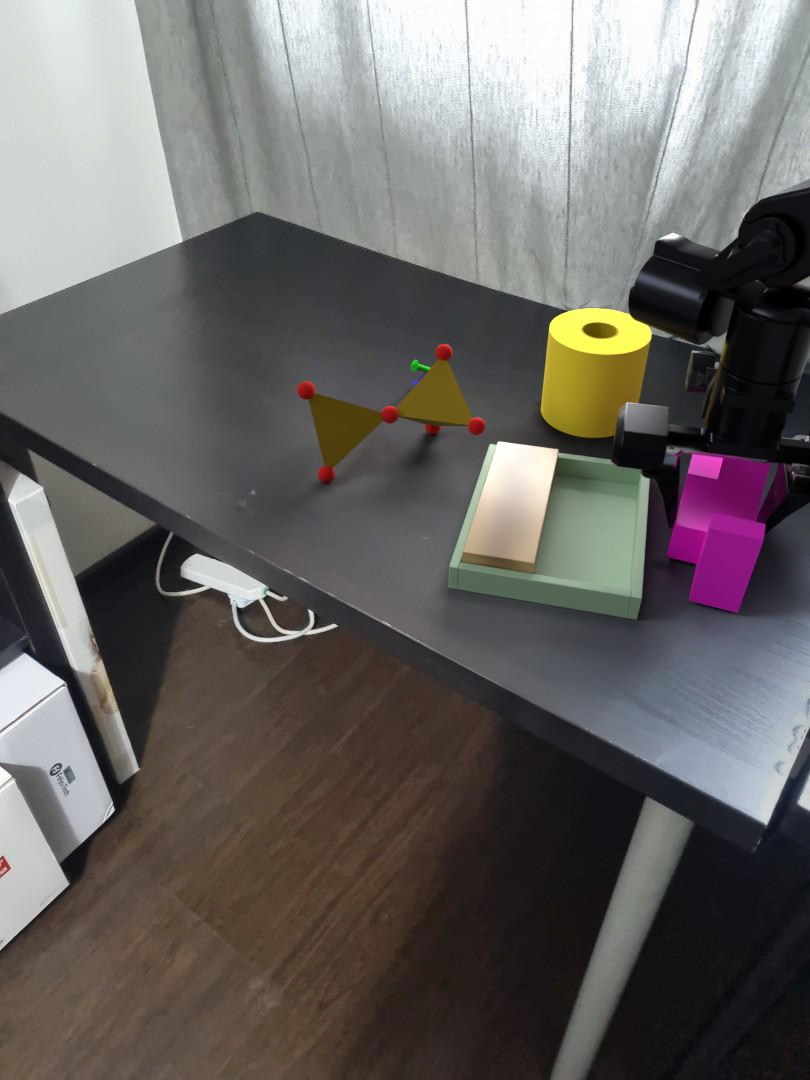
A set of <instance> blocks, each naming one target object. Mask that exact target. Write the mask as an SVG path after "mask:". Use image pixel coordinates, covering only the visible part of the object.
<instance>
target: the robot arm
mask: <svg viewBox="0 0 810 1080" xmlns="http://www.w3.org/2000/svg"><path fill="white" fill-rule="evenodd" d="M737 232H738V233H737V237H735V239H733V241H731V243H729V244H728V245H727V246H725V247H724V249H722V250H720V249H719V250H718V249H715V248H712V247H709V246H706V245H703V244H700V243H697V242H694V241H693V240H691V239H689V238H687V237H686V236H683V235H680V234H676V233H674V232H673V233H672V232H671V233H670V234H667V235H666V236H665V235H664V236H663V237H660V238H659V239H656V240H655V241H654V247H653V252H652V255H651V256H650V257H649V258H648V259H647V260H646V262H645V263H644V265H643V266H642V267H641V269H640V270H639V273H638V274H637V277H636V279H635V282H634V284H633V285H632V286H631V287H630V288H629V293H628V300H627V301H628V302H627V307H628V314H629V315H631V317H632V318H633V319H634V320H635V321H638V322H640V323H643V324H646V325H647V326H648V327H651V328H653V329H656V330H658V331H661V332H664V333H666V334H668V335H671V336H673V337H676V338H679V339H681V340H683V341H686V342H688V343H690V344H693V345H697V346H701V345H705V344H707V343H708V342H709V341H710V340H712V338H714V337H715V338H719V337H722V336H723V335H725V338H724V342H723V346H722V350H721V354H720V358H719V361H716V360H717V356H716V354H715V353H714V352H711V351H701V350H691V353H690V356H689V361H688V364H687V368H686V369H687V370H686V375H685V381H684V389H685V391H686V392H690V393H698V394H704V397H703V401H702V405H701V409H700V418H701V419H704V421H703V424H702V427H695V426H685V425H677V424H670V406H663V405H653V404H646V403H629V402H627V403H626V404H624V405H623V406H622V407H621V408H619V411H618V416H617V422H616V428H615V435H614V437H613V445H612V452H611V459H610V460H611V462H612V463H614V464H615V465H616V466H618V467H625V468H633V469H640V470H641V474H642V476H643V477H645V478H649V479H650V480H653V481H654V483H655V486H656V488H657V490H658V493H659V494H660V497H661V500H662V504H663V508H664V512H665V517H666V523H667V527H668V528H669V529H673V528H674V524H675V520H676V519H677V513H678V508H679V495H680V481H681V456H682V454H688V455H692V454H696V455H704V456H712V457H720V458H728V459H736V460H744V461H752V462H760V463H768V462H771V464H773V463H774V464H777V467H776V472H775V476H774V478H773V481H772V483H771V485H770V487H769V489H768V491H767V493H766V496H765V498H764V500H763V502H762V504H761V506H760V508H759V511H758V516H757V521H756V522H759V523H763V524H765V532H764V536H766V535H767V534H768V533H769V532H770V531H771V530H773V529H774V528H775V527H776V526H778V525H779V524H780V523H781V522H783V521H784V520H785V519H786V518H788V517H790V516H792V514H794V513H795V512H798V511H799V510H800V509H802V508H804V507H805V506H807V505H808V504H810V429H809V430H808V433H807V435H804V434H797V435H794V437H784V436H783V435H784V432H785V429H786V426H787V423H788V419H789V417H790V414H793V411H794V408H795V405H796V395H797V392H798V390H799V386H800V383H801V380H802V377H803V373H804V371H805V368H806V365H807V362H808V358H809V355H810V286H808V285H805V284H803V283H800V282H801V281H802V282H803V281H804V280H805V279H808V278H809V277H810V178H808V179H805V180H803V181H801V182H798V183H796V184H794V185H791V186H788V187H786V188H784V189H782V190H780V191H777V192H775V193H772V194H770V195H768V196H766V197H763V198H760V199H759V200H757V201H756V202H755V203H753V204H752V205H750V206H749V207H748V208H747V210H746V211H745V212H744V213H743V215H742V220H741V223H740V225H739V227H738V231H737Z"/></svg>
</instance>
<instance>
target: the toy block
mask: <svg viewBox="0 0 810 1080" xmlns="http://www.w3.org/2000/svg"><path fill="white" fill-rule="evenodd" d="M771 465H772V462H768V463H760V462H752V461H744V460H736V459H728V458H720V457H712V456H704V455H696V454H691V458H690V462H689V466H688V471H687V473H686V478H685V481H684V486H683V490H682V494H681V497H680V500H679V501H680V502H679V504H678V508H677V519H676V520H675V524H674V528H672V533H671V537H670V540H669V544H668V548H667V552H666V555H665V557H666V558H670V559H674V560H678V561H682V562H687V563H691V564H695V569H694V573H693V579H692V583H691V588H690V593H689V597H688V601H690V602H693V603H696V604H701V605H705V606H709V607H712V608H717V609H721V610H724V611H728V612H733V613H735V614H736V613H737V614H738V613H739V610H740V608H741V605H742V602H743V599H744V596H745V594H746V592H747V591H746V590H747V588H748V585H749V582H750V579H751V578H752V577H751V576H752V574H753V571H754V568H755V565H756V563H757V560H758V557H759V554H760V552H761V549H762V546H763V543H764V541H765V535H764V532H765V524H763V523H759V522H756V521H757V516H758V514H759V511H760V508H761V502H762V498H763V494H764V490H765V486H766V482H767V479H768V476H769V471H770V468H771Z"/></svg>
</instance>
